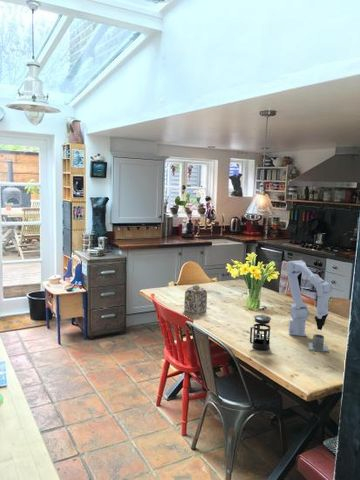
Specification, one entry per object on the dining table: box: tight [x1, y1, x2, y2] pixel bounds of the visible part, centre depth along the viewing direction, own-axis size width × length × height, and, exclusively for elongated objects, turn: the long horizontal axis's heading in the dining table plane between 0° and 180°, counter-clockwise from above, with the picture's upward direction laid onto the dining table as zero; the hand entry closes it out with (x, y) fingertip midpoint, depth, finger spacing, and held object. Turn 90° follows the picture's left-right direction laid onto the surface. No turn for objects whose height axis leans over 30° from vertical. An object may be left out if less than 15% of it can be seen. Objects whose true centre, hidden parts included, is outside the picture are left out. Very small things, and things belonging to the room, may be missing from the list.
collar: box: [312, 333, 325, 349], centre depth 221 cm, size 5×5×6 cm
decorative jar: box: [183, 284, 208, 315], centre depth 281 cm, size 12×12×18 cm
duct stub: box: [307, 342, 330, 354], centre depth 221 cm, size 10×10×5 cm
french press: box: [249, 305, 272, 352], centre depth 219 cm, size 12×9×23 cm
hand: (320, 327), depth 225 cm, fingers open, 7 cm apart
